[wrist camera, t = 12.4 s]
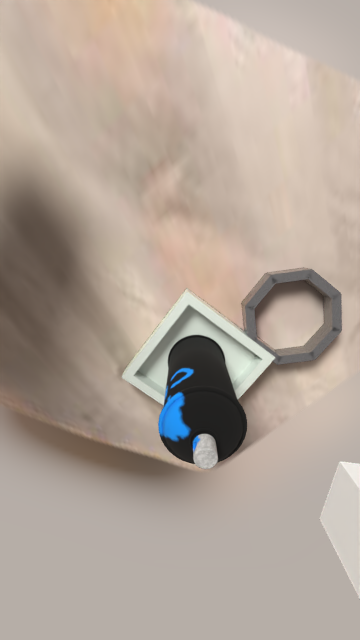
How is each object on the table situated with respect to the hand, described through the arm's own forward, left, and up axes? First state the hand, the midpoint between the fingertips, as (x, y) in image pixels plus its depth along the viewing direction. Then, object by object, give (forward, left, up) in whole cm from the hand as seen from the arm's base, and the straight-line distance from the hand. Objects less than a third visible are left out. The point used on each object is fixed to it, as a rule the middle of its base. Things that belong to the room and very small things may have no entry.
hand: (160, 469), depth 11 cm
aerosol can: (+7, -5, -31) cm, 32 cm away
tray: (+7, -5, -32) cm, 33 cm away
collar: (+13, +8, -32) cm, 35 cm away
